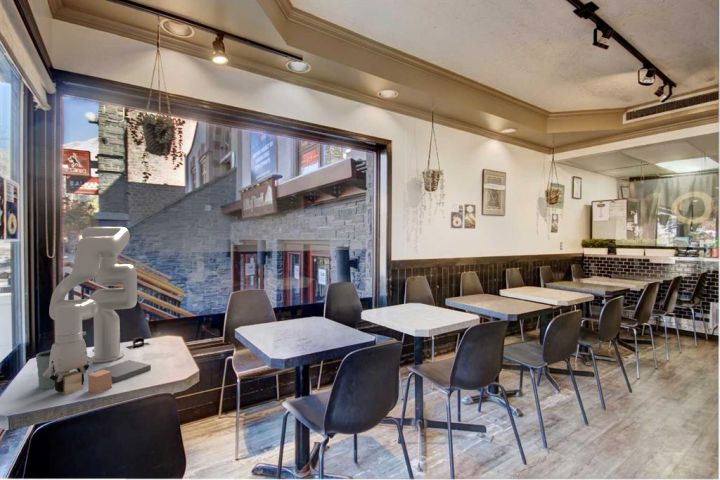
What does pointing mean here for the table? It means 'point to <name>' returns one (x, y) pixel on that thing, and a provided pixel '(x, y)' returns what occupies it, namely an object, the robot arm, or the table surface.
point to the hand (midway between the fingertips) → (69, 387)
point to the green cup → (42, 366)
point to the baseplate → (126, 370)
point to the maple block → (71, 382)
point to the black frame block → (138, 339)
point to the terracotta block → (99, 381)
